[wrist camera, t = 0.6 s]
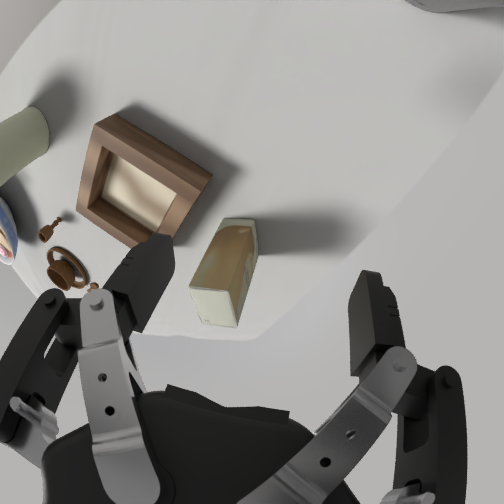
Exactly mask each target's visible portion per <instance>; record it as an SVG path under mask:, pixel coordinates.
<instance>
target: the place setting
mask: <svg viewBox="0 0 504 504" xmlns="http://www.w3.org/2000/svg"><path fill="white" fill-rule="evenodd" d="M59 222H61V219H60V218H59V217H57V220H55V221H54V222H53V224H52V225H51V226H50V225H46V226H44V227H43V228H42V229H41V230H40V231H39V232H38V236H39V238H40V240H41V241H42V242H44V243H46V242H47V241H48V240H49V239H50V238H51V236H52V235H53V229H54V227H55V226H57V225H58V223H59ZM53 251H56V252H59V253H61V254H62V255H64V256H65V257H67V258H68V259H69V260H70V261H71V262H72V263H73V264H74V265H75V266H76V267H77V269H78V270H79V271H80V273H81V275H82V277H83V280H84V281H82V282H77V281H75V274H74V269H73V267H72V266H71V265H70V264H69V263H68V262H67V261H65V260H62V261H61V260H55V261H54V259H53ZM47 260H48V262H49V265H50V266H49V267H48V269H47V274H48V276H49V278H50V279H51V280H52V282H53V283H54V284H55V285H57V286H58V287H59V288H61V289H63V290H65V291H68V290H69V289H70V288H71V286H72V287H74V288H78V289H81V288H83V287H84V286H85V285H86V281H87V278H86V274H85V272H84V270H83V268H82V266H81V265H80V264H79V262H78V261H77V260H76V259H75V258H74V257H73V256H72V255H70V254H69V253H68V252H66V251H65V250H63V249H61V248H51V249H50V250H49V251H48V252H47ZM90 286H91V288H90V289H88V290H87V291H88V292H90V291H91V290H92V289H97V285H96V284H95V283H91V284H90Z"/></svg>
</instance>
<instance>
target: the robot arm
mask: <svg viewBox="0 0 504 504" xmlns="http://www.w3.org/2000/svg"><path fill="white" fill-rule="evenodd" d="M405 1H407V2H408V3H410V4H412V5H414V6H415V7H418V8H420V9H423V10H425V11H430V12H435V13H444V12H450V11H457V10H466V9H475V8H487V7H504V0H405ZM174 270H175V258H174V250H173V242H172V237H171V235H168V234H162V233H156V232H154V233H152V234H151V236H150V237H149V238H148V240H147V241H146V242H140V243H139V244H137V245H136V246H134V247H133V248H132V249H131V250H130V251H129V252H128V254H127V255H126V257H125V258H124V259H123V260H122V262H121V264H119V266H118V267H117V268H116V270H115V271H114V272H113V274H112V275H111V276H110V278H109V279H108V281H107V282H106V283H105V285H104V286H103V288H102V289H94V290H92V291H90V292H88V293H87V294H85V295H84V297H83V298H66V297H65V295H64V293H63V292H62V291H61V290H60V289H57V288H53V289H49V290H47V291H45V292H44V293H42V294H41V296H40V297H39V298H38V300H37V301H36V303H35V304H34V305H33V307H32V308H31V310H30V312H29V313H28V315H27V316H26V318H25V319H24V321H23V322H22V324H21V325H20V327H19V329H18V330H17V332H16V334H15V336H14V337H13V339H12V340H11V342H10V344H9V346H8V348H7V349H6V351H5V353H4V355H3V356H2V358H1V360H0V443H2V444H4V445H6V446H8V447H10V448H12V449H14V450H15V451H16V452H18V453H19V454H20V455H22V456H23V457H25V458H26V459H27V460H28V461H30V462H31V463H33V464H34V465H35V466H37V467H38V468H40V469H41V475H42V481H43V504H360V502H359V501H358V500H357V498H356V497H355V495H354V494H353V493H352V491H351V490H350V488H349V487H348V485H347V484H346V482H345V481H344V478H345V477H346V476H347V475H348V474H349V473H350V472H351V471H352V469H353V468H354V467H355V466H356V465H357V464H358V462H359V461H360V460H361V459H362V458H363V456H364V455H365V454H366V453H367V451H368V450H369V449H370V448H371V446H372V445H373V444H374V443H375V441H376V440H377V439H378V437H379V436H380V435H381V433H382V432H383V430H384V429H385V427H386V426H387V425H388V423H389V422H390V420H391V418H392V415H391V412H393V413H396V414H398V425H397V429H398V430H397V448H396V462H395V473H394V482H393V490H391V491H390V492H388V493H387V494H386V495H385V496H384V498H383V499H382V501H381V503H380V504H465V498H466V485H467V428H466V415H465V405H464V396H463V388H462V382H461V378H460V376H459V374H458V373H457V371H456V370H455V369H453V368H452V367H450V366H441V367H439V368H438V369H437V370H436V371H433V370H430V369H428V368H425V367H423V366H420V365H418V364H417V362H416V359H415V357H414V355H413V354H412V353H411V352H410V351H409V350H407V349H406V347H405V341H404V335H403V330H402V325H401V320H400V317H399V310H398V309H397V308H398V306H397V301H396V297H395V295H394V294H393V292H392V291H391V289H390V288H389V287H386V286H383V281H382V277H381V274H380V273H378V272H372V271H367V270H362V271H361V273H360V276H359V278H358V280H357V282H356V285H355V287H354V289H353V291H352V293H351V296H350V299H349V305H348V314H349V315H348V316H349V333H350V334H349V335H350V368H351V369H350V371H351V376H357V377H359V384H358V385H357V387H356V388H355V389H354V390H353V391H352V392H351V394H350V395H349V396H348V397H347V398H346V399H345V400H344V402H343V403H342V404H341V405H340V406H339V407H338V408H337V409H336V410H335V412H334V413H333V414H332V415H331V416H330V417H329V418H328V419H327V420H326V421H325V422H324V423H323V424H322V425H321V426H320V427H319V428H318V429H317V430H316V431H315V432H314V433H313V434H312V433H311V432H310V431H309V430H308V429H307V428H305V427H304V426H303V425H301V424H300V423H298V422H296V421H294V420H292V419H290V418H289V412H290V411H285V410H278V409H271V408H265V407H259V406H257V407H224V406H221V405H219V404H217V403H215V402H213V401H211V400H209V399H207V398H206V397H204V396H202V395H200V394H198V393H196V392H193V391H189V390H185V389H182V388H178V387H175V386H172V385H169V384H167V387H166V390H165V391H153V392H147V391H146V388H145V386H144V383H143V381H142V379H141V376H140V373H139V369H138V366H137V362H136V358H135V355H134V351H133V347H132V343H131V339H130V335H131V333H132V331H136V332H140V333H142V332H143V330H144V328H145V326H146V324H147V322H148V321H149V319H150V317H151V315H152V313H153V311H154V309H155V307H156V305H157V303H158V302H159V300H160V298H161V296H162V294H163V292H164V291H165V289H166V287H167V285H168V283H169V281H170V280H171V278H172V276H173V273H174ZM54 335H55V336H56V338H55V340H54V342H53V344H52V345H51V347H50V349H49V351H48V353H47V355H46V357H45V359H44V353H45V351H46V349H47V347H48V345H49V343H50V341H51V339H52V338H53V336H54ZM78 361H79V369H80V376H81V384H82V390H83V396H84V400H85V406H86V411H87V416H88V421H89V423H88V424H86V425H84V426H82V427H80V428H78V429H76V430H74V431H72V432H70V433H68V434H66V435H64V436H62V437H60V438H59V439H56V435H57V434H58V432H59V428H58V426H57V420H56V417H55V413H56V410H57V408H58V405H59V403H60V400H61V398H62V396H63V393H64V391H65V389H66V387H67V384H68V382H69V380H70V378H71V376H72V373H73V371H74V369H75V367H76V365H77V362H78Z"/></svg>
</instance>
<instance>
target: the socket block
mask: <svg viewBox="0 0 504 504" xmlns="http://www.w3.org/2000/svg"><path fill="white" fill-rule="evenodd" d="M212 176H213V175H212V174H211V173H209V172H208V171H206V170H205V169H203V168H202V167H200V166H198V165H197V164H195V163H194V162H192V161H191V160H189V159H188V158H186V157H184V156H183V155H181V154H180V153H178V152H177V151H175V150H173V149H172V148H170V147H169V146H167V145H165V144H164V143H162V142H161V141H159V140H157V139H156V138H154V137H152V136H151V135H149V134H148V133H146V132H144V131H143V130H141V129H139V128H138V127H136V126H134V125H133V124H131V123H129V122H128V121H126V120H124V119H123V118H121V117H119V116H117V115H116V114H113V115H111V116H109V117H107V118H105V119H103V120H101V121H99V122H97V123H96V124H94V127H93V130H92V134H91V137H90V141H89V145H88V149H87V153H86V158H85V162H84V167H83V171H82V176H81V182H80V187H79V193H78V199H77V205H76V211H77V212H79V213H80V214H81V215H83V216H84V217H86V218H87V219H88V220H90V221H91V222H93V223H94V224H95V225H97V226H98V227H100V228H101V229H103V230H104V231H106V232H107V233H109V234H110V235H111V236H113V237H114V238H116V239H117V240H119V241H120V242H122V243H123V244H125V245H126V246H128V247H129V248H131V249H132V248H133V247H134V246H136V245H137V244H139V243H140V242H146V241H147V240H148V238H149V237H150V236H151V234H152V233H154V232H156V233H162V234H168V235H171V237H172V239H173V237H174V236H175V234H176V232H177V231H178V229H179V227H180V226H181V224H182V222H183V221H184V219H185V218H186V216H187V214H188V213H189V211H190V210H191V208H192V206H193V205H194V203H195V202H196V200H197V198H198V197H199V195H200V194H201V192H202V191H203V189H204V188H205V186H206V185H207V183H208V182H209V180H210V179H211V177H212Z"/></svg>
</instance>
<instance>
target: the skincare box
mask: <svg viewBox="0 0 504 504" xmlns="http://www.w3.org/2000/svg"><path fill="white" fill-rule="evenodd" d="M257 259H258V242H257V234H256V227H255V221H254V220H249V219H223V220H222V222H221V224H220V226H219V227H218V229H217V231H216V233H215V235H214V237H213V239H212V241H211V243H210V245H209V247H208V248H207V250H206V252H205V254H204V256H203V258H202V260H201V262H200V264H199V266H198V268H197V270H196V272H195V274H194V276H193V278H192V280H191V282H190V284H189V286H188V289H189V292H190V294H191V297H192V300H193V303H194V306H195V308H196V310H197V313H198V315H199V318H200V320H201V323H203V324H209V325H216V326H223V327H231V328H237V326H238V322H239V319H240V316H241V312H242V309H243V306H244V302H245V299H246V296H247V292H248V289H249V286H250V283H251V279H252V276H253V273H254V269H255V266H256V263H257Z"/></svg>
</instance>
